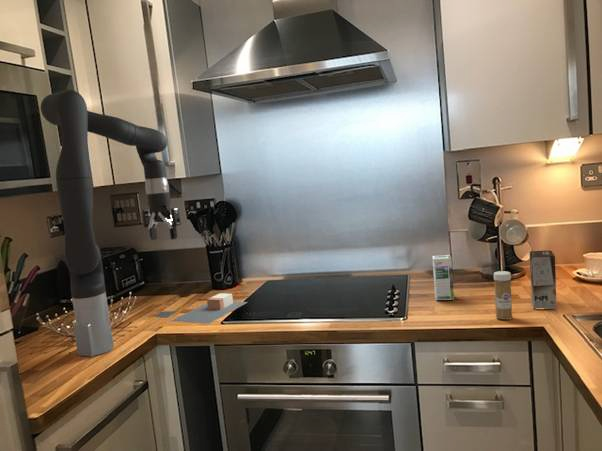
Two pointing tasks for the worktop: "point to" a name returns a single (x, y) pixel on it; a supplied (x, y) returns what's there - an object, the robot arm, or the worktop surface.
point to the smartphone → (165, 314)
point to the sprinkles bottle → (503, 294)
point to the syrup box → (443, 277)
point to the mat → (207, 313)
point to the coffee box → (543, 279)
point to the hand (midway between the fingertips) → (164, 239)
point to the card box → (220, 301)
